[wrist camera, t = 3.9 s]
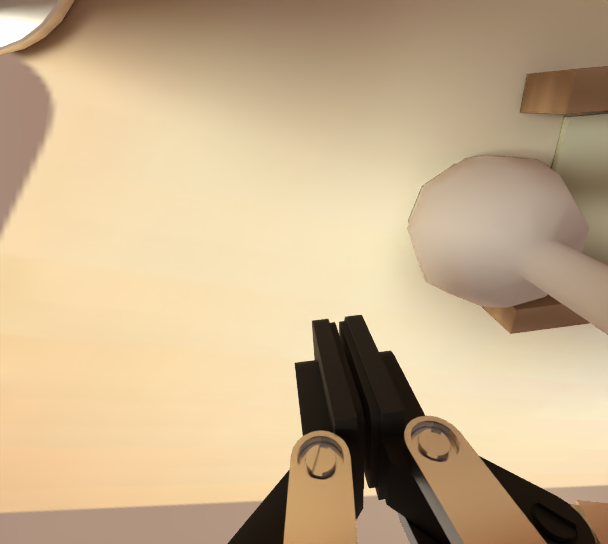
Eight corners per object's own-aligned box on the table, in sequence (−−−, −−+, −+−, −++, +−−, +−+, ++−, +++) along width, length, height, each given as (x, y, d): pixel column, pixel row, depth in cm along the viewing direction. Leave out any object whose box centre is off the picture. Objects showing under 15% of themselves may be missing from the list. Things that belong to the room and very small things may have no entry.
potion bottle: (470, 286, 26) (806, 586, 10) (371, 245, 23) (604, 555, 7) (548, 180, 23) (1239, 368, 7) (443, 119, 20) (1137, 184, 4)
